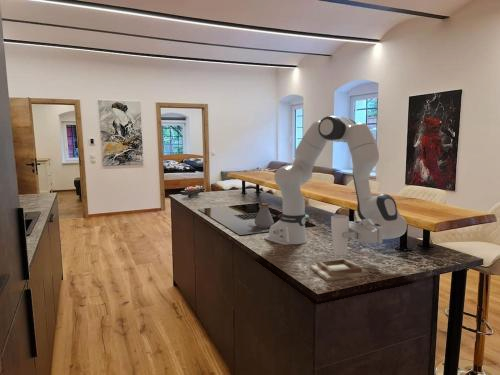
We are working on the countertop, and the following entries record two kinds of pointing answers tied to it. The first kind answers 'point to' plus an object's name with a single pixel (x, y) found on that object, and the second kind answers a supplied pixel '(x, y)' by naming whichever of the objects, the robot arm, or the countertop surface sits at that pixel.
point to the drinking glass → (339, 234)
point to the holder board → (338, 269)
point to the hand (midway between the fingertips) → (338, 232)
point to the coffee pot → (264, 216)
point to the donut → (306, 218)
